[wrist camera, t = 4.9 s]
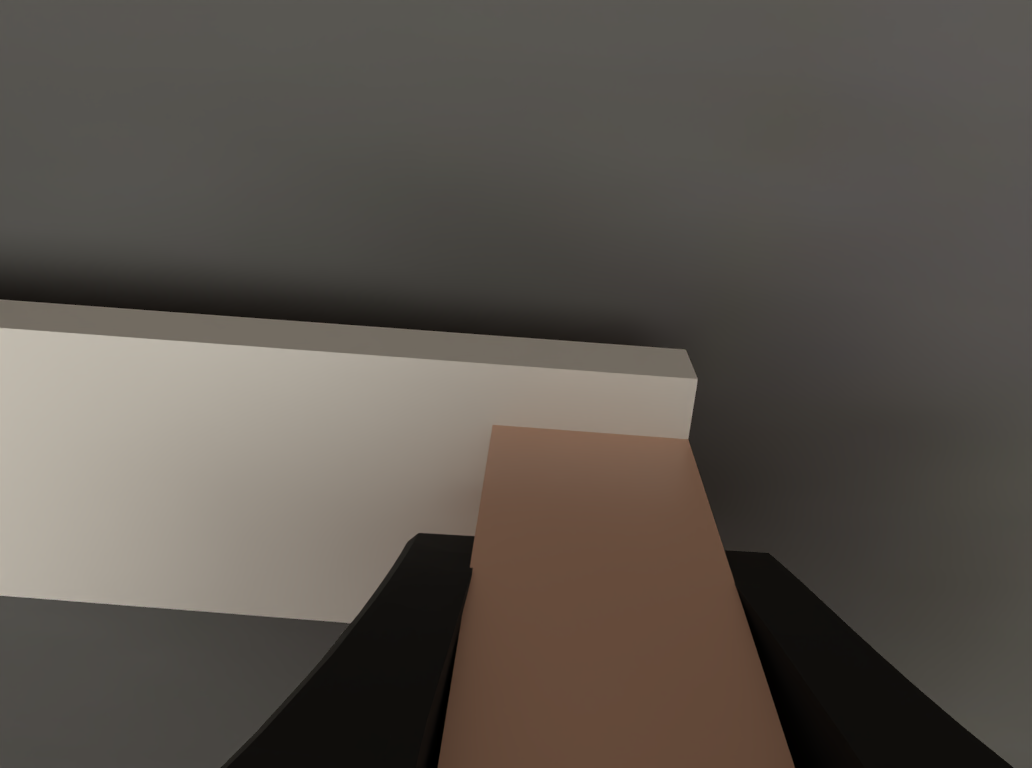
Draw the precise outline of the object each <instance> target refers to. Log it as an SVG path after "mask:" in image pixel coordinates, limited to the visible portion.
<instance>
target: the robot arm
mask: <svg viewBox="0 0 1032 768" xmlns="http://www.w3.org/2000/svg"><path fill="white" fill-rule="evenodd" d="M474 538H475V536H465V535H448V534H430V533H418V534H416V535H415V536H414V537H413V538H411V539H410V540H409V541H408V542H407V543H406V545H405V547H404V549H403V550H402V552H401V554H400V555H399V557H398V558H397V560H396V562H395V563H394V565H393V566H392V568H391V569H390V571H389V572H388V574H387V575H386V577H385V578H384V579H383V581H382V582H381V584H380V585H379V587H378V588H377V589H376V591H375V592H374V593H373V595H372V596H371V598H370V599H369V600H368V602H367V603H366V604H365V606H364V607H363V608H362V610H361V611H360V612H359V614H358V615H357V616H356V617H355V619H354V620H353V621H352V622H351V624H350V625H349V626H348V627H347V629H346V630H345V631H344V632H343V634H342V635H341V636H340V637H339V639H338V640H337V641H336V642H335V644H334V645H333V646H332V647H331V649H330V650H329V651H328V652H327V654H326V655H325V656H324V657H323V659H322V660H321V661H320V662H319V663H318V664H317V666H316V667H315V668H314V669H313V670H312V671H311V673H310V674H309V675H308V676H307V677H306V678H305V679H304V680H303V681H302V683H301V684H300V685H299V686H298V687H297V688H296V689H295V690H294V691H293V692H292V693H291V695H290V696H289V697H288V698H287V699H286V700H285V701H284V702H283V703H282V704H281V706H280V707H279V708H278V709H277V710H276V711H275V712H274V713H273V714H272V715H271V717H270V718H269V719H268V720H267V721H266V722H265V723H264V724H263V725H262V726H261V728H260V729H259V730H258V731H257V732H256V733H255V734H254V735H253V736H252V737H251V738H250V739H249V740H248V741H247V742H246V743H245V744H244V745H243V746H242V747H241V748H240V749H239V750H238V751H237V752H236V753H235V754H234V755H233V756H232V757H231V758H230V759H229V760H228V761H227V762H226V763H225V764H224V765H223V766H222V767H221V768H438V762H439V756H440V750H441V743H442V737H443V731H444V725H445V719H446V712H447V706H448V700H449V694H450V687H451V681H452V675H453V669H454V662H455V656H456V650H457V644H458V637H459V631H460V625H461V619H462V614H463V609H464V605H465V601H466V597H467V593H468V589H469V585H470V581H471V577H472V570H473V568H470V563H471V556H472V550H473V544H474ZM725 554H726V557H727V560H728V563H729V566H730V569H731V572H732V576H733V579H734V582H735V586H736V588H737V591H738V594H739V597H740V600H741V603H742V606H743V609H744V612H745V616H746V619H747V622H748V625H749V628H750V631H751V634H752V637H753V640H754V643H755V646H756V649H757V653H758V656H759V659H760V662H761V665H762V668H763V671H764V674H765V677H766V680H767V683H768V686H769V689H770V693H771V696H772V699H773V702H774V705H775V708H776V711H777V714H778V717H779V720H780V723H781V726H782V729H783V733H784V736H785V739H786V742H787V745H788V748H789V751H790V754H791V757H792V760H793V763H794V766H795V768H1013V767H1012V766H1011V765H1010V764H1008V763H1007V762H1006V761H1005V760H1003V759H1002V758H1001V757H1000V756H998V755H997V754H996V753H995V752H993V751H992V750H991V749H990V748H988V747H987V746H986V745H985V744H984V743H982V742H981V741H980V740H979V739H977V738H976V737H975V736H974V735H972V734H971V733H970V732H969V731H967V730H966V729H965V728H964V727H962V726H961V725H960V724H959V723H958V722H957V721H955V720H954V719H953V718H952V717H951V716H950V715H948V714H947V713H946V712H945V711H944V710H942V709H941V708H940V707H939V706H938V705H937V704H935V703H934V702H933V701H932V700H931V699H930V698H928V697H927V696H926V695H925V694H924V693H923V692H921V691H920V690H919V689H918V688H917V687H916V686H915V685H913V684H912V683H911V682H910V681H909V680H908V679H907V678H905V677H904V676H903V675H902V674H901V673H900V672H899V671H898V670H897V669H895V668H894V667H893V666H892V665H891V664H890V663H889V662H888V661H886V660H885V659H884V658H883V657H882V656H881V655H880V654H879V653H878V652H876V651H875V650H874V649H873V648H872V647H871V646H870V645H869V644H868V643H867V642H866V641H864V640H863V639H862V638H861V637H860V636H859V635H858V634H857V633H856V632H855V631H854V630H852V629H851V628H850V627H849V626H848V625H847V624H846V623H845V622H844V621H843V620H842V619H841V618H840V617H838V616H837V615H836V614H835V613H834V612H833V611H832V610H831V609H830V608H829V607H828V606H827V605H825V604H824V603H823V602H822V601H821V600H820V599H819V598H818V597H817V596H816V595H815V594H814V593H813V592H812V591H810V590H809V589H808V588H807V587H806V586H805V585H804V584H803V583H802V582H801V581H800V580H799V579H797V578H796V577H795V576H794V575H793V574H792V573H791V572H790V571H789V570H788V569H786V568H785V567H784V566H783V565H782V564H781V563H780V562H778V561H777V560H776V559H775V558H774V557H772V556H771V555H770V554H769V553H758V552H741V551H725Z"/></svg>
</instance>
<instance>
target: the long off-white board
mask: <svg viewBox="0 0 1032 768" xmlns="http://www.w3.org/2000/svg"><path fill="white" fill-rule="evenodd" d="M697 382H698V378H697V376H696V373H695V371H694V368H693V366H692V364H691V361H690V359H689V356H688V354H687V351H686V349H672V348H658V347H645V346H631V345H617V344H604V343H590V342H576V341H563V340H549V339H535V338H521V337H508V336H494V335H480V334H467V333H453V332H439V331H425V330H412V329H398V328H384V327H371V326H357V325H343V324H330V323H316V322H302V321H288V320H275V319H261V318H247V317H234V316H220V315H206V314H193V313H179V312H165V311H151V310H138V309H124V308H110V307H97V306H83V305H69V304H55V303H42V302H28V301H14V300H1V299H0V596H13V597H26V598H38V599H51V600H64V601H76V602H89V603H102V604H114V605H127V606H140V607H152V608H165V609H178V610H190V611H203V612H216V613H228V614H241V615H254V616H266V617H279V618H292V619H304V620H317V621H330V622H342V623H351V622H352V621H353V620H354V619H355V617H356V616H357V615H358V614H359V612H360V611H361V610H362V608H363V607H364V606H365V604H366V603H367V602H368V600H369V599H370V598H371V596H372V595H373V593H374V592H375V591H376V589H377V588H378V587H379V585H380V584H381V582H382V581H383V579H384V578H385V577H386V575H387V574H388V572H389V571H390V569H391V568H392V566H393V565H394V563H395V562H396V560H397V558H398V557H399V555H400V554H401V552H402V550H403V549H404V547H405V545H406V543H407V542H408V541H409V540H410V539H411V538H413V537H414V536H415V535H416V534H418V533H430V534H448V535H465V536H475V538H474V544H473V550H472V556H471V563H470V568H473V570H472V577H471V581H470V585H469V589H468V593H467V597H466V601H465V605H464V609H463V614H462V619H461V625H460V631H459V637H458V644H457V650H456V656H455V662H454V669H453V675H452V681H451V687H450V694H449V700H448V706H447V712H446V719H445V725H444V731H443V737H442V743H441V750H440V756H439V762H438V768H795V766H794V763H793V760H792V757H791V754H790V751H789V748H788V745H787V742H786V739H785V736H784V733H783V729H782V726H781V723H780V720H779V717H778V714H777V711H776V708H775V705H774V702H773V699H772V696H771V693H770V689H769V686H768V683H767V680H766V677H765V674H764V671H763V668H762V665H761V662H760V659H759V656H758V653H757V649H756V646H755V643H754V640H753V637H752V634H751V631H750V628H749V625H748V622H747V619H746V616H745V612H744V609H743V606H742V603H741V600H740V597H739V594H738V591H737V588H736V586H735V582H734V579H733V576H732V572H731V569H730V566H729V563H728V560H727V557H726V554H725V551H724V548H723V545H722V542H721V539H720V536H719V532H718V529H717V526H716V523H715V520H714V517H713V514H712V511H711V508H710V505H709V502H708V499H707V496H706V492H705V489H704V486H703V483H702V480H701V477H700V474H699V471H698V468H697V465H696V462H695V459H694V456H693V452H692V449H691V446H690V443H689V440H688V438H689V432H690V425H691V419H692V413H693V407H694V400H695V394H696V388H697Z"/></svg>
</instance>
